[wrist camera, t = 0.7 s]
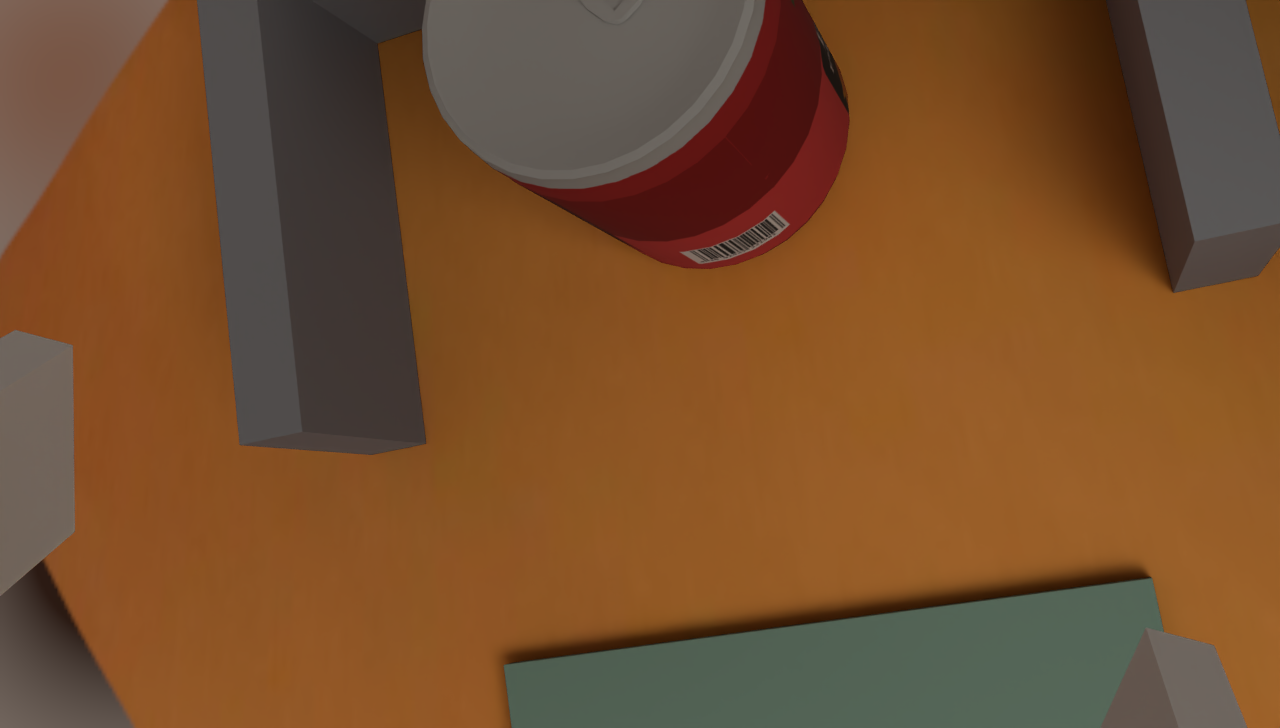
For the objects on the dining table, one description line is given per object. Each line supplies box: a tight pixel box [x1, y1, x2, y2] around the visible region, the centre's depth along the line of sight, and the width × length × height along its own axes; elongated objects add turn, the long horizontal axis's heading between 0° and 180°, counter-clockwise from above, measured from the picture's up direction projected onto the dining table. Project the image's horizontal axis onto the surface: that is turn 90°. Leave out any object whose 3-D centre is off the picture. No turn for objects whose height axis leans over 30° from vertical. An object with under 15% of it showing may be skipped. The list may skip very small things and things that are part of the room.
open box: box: [197, 0, 1280, 455], centre depth 33 cm, size 26×16×6 cm, turn 99°
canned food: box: [422, 0, 849, 269], centre depth 31 cm, size 8×8×11 cm
